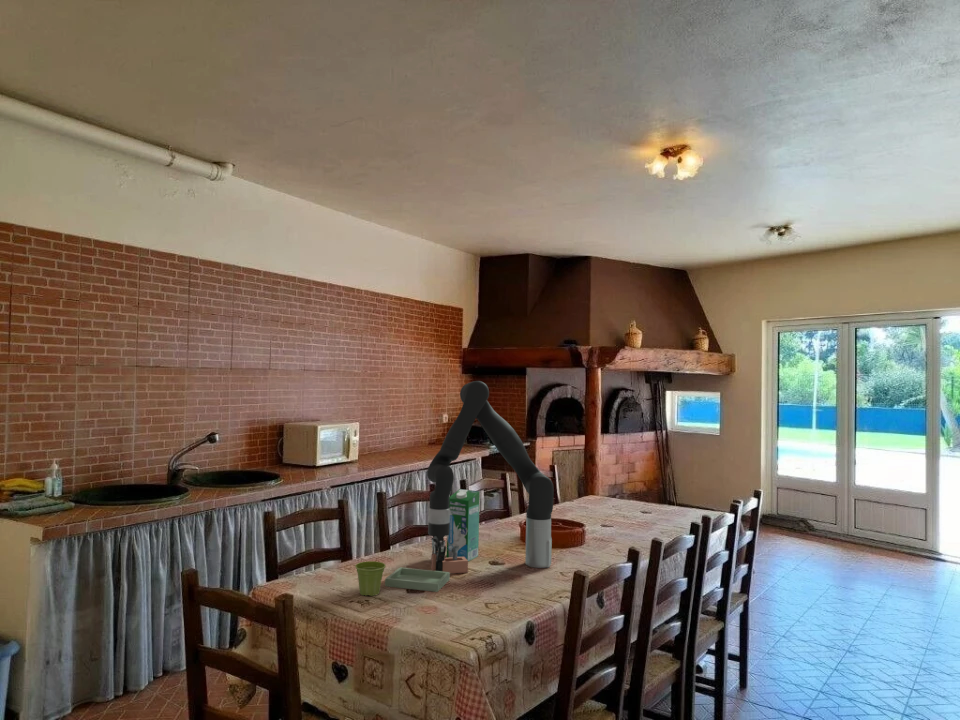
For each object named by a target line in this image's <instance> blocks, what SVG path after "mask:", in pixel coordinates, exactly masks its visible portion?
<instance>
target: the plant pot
mask: <svg viewBox="0 0 960 720" xmlns="http://www.w3.org/2000/svg"><path fill="white" fill-rule="evenodd" d="M354 567H355V569H356V573H357V579H358V580H357V581H358V589H359V595H361V596H364V595H365V596H371V597H373V596H377V595H379V594H380V591H381V584H382V578H383V575H384V574H383V573H384V571H385V568H386V567H387V565H386V563H384V562H381V561H377V560H376V561H372V560H370V561H368V560H367V561H362V562H358V563H355V566H354Z"/></svg>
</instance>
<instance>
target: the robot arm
mask: <svg viewBox="0 0 960 720" xmlns="http://www.w3.org/2000/svg"><path fill="white" fill-rule="evenodd" d="M459 395H460V400H461V402H462V407H461V410H460V411H459V414H458V415H457V417H456V418H455V420H454V422H453V423H452V425H451V426H450V428H449V430H448V431H447V434H446V435H445V438H444V440H443V442H442V445H441V447H440V449H439V451H437V453H436V455H435V456H434V458H433V459H432V460H431V462H430V463H429V465H428V467H427V472H426V475H427V478H428V480H429V481H430V482H431V483H434V484H435V485H434V486H435V487H434V490H433V491H431V492H430V493H429V507H428V508H429V509H428V521H427V522H428V526H427V528H428V529H427V534H428V535H429V536H430V537H431V551H432V552H431V555H432V554H436V571H442V561H444V560H445V558H446V553H447V545H446V540H444V538H445V537H447V535H449V532H450V511H449V501H450V499H449V497H450V496H451V493H452V489H453V484H454V480H455V479H454V471H453V469H452V467H451V466H450V464H452V463H451V462H453V461H457V460H458V458H459V456H460V454H461V451H462V449H463V448H464V444H465V442H466V439H467V437H468V435H469V433H470V431H471V430H472V429H471V428H472V426H473V425H474V423H475V420H477V421H478V422H479V424H480V425H481V427H482V428H483V430H484V432H485V433H486V435H487V436H488V437H489V439H490V440H491V442H492V444H493V445H494V446H495V448H496V449H497V451H498V452H499V453H500V455H501V456H502V457H503V458H504V460H505V461H506V462H507V463H508V464H509V465H510V466H511V468H512V469H513V471H514V472H515V473H516V474H517V476H518V478H519V480H520V481H521V483H522V486H523V488H524V490H525V491H526V493H528V505H527V506H528V507H527V509H526V513H525V514H526V515H525V516H526V517H525V522H526V523H525V524H526V525H525V563H524V564H525V565H526V566H527V567H530V568H539V569H540V568H541V569H543V568H550V567H551V564H552V549H553V548H552V544H553V542H552V541H553V539H552V513H553V510H554V494H555V491H554V483H553V481H552V479H551V478H550V477H548V476H546V475H545V474H543V473H542V471H540V470H539V468H538V467H537V466H536V465H535V463H534V462H533V461H532V460H531V458H530V456H529V453H528V452H527V450H526V447H525V445H524V443H523V441H522V439H521V438H520V436H519V435H518V433H517V432H516V430H515V429H514V428H513V427H512V426H511V425H510V423H508V421H507V420H505V419H504V418H503V416H500V414H499V413H497V412H496V410H494V408H493V407H492V405H491V404H490V403H489V401H488V399H489V397H490V390H489V387H488V385H487V383H485V382H483V381H481V380H473V381H470V382H468V383H466V384H463V385H462V387H461V388H460V393H459ZM439 556H441V557H439Z"/></svg>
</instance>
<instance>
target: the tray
mask: <svg viewBox="0 0 960 720" xmlns="http://www.w3.org/2000/svg"><path fill="white" fill-rule="evenodd" d="M450 577H451V574H450V572H442V571H432V570H431V569H421V568H414V567H413V568H411V567H401V566H400V567H398V568H397V569H396V570H395V571H393V572H392V573H390V574H389V575H388V576H386V577H385V578H384V586H385V587H391V588H397V589H407V590H416V591H417V590H418V591H426V592H427V591H428V592H434V593H435V592H436V593H437V592H439V591H440V590H441V589H442V588H443V587H444V586H446V584H447V583H448V582H449V581H450V580H451V579H450Z"/></svg>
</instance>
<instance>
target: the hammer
mask: <svg viewBox="0 0 960 720" xmlns="http://www.w3.org/2000/svg"><path fill="white" fill-rule="evenodd" d="M458 550H459V546H455V547H453V548H452V553H453V561H456V560H457V552H458Z"/></svg>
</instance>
